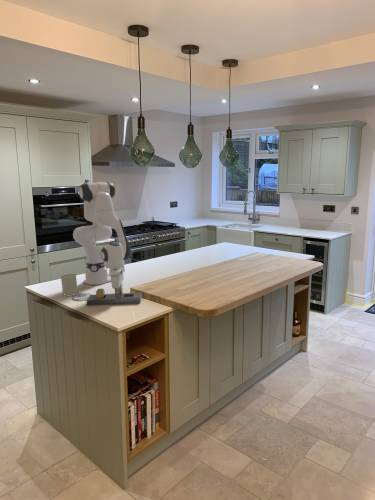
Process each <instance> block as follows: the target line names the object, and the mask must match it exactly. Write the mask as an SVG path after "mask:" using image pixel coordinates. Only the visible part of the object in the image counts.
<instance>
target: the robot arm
mask: <svg viewBox="0 0 375 500" xmlns="http://www.w3.org/2000/svg"><path fill="white" fill-rule="evenodd" d="M78 194H79V198H80V200H82V201H83V217H84V219H85V220H86V221H89V222H91V223H92V224H91V225H85V226H79V227H76V228H75V229H74V230H73V233H72V237H73V240H74V241H75V242H76V243H77V244H79V245H80V246H81V247H82V248H83V249H84V251H85V257H86V269H85V271H84V274H85V275H84V276H85V277H84V278H85V280H83V283H84V284H86V285H93V286H95V285H97V286H98V285H102V284H105V283H110V282H111V287H112V289H114V290H115V289H116V293H117V294H119V293H120V290H119V287H120V285H121V284H122V285H123V281H124V279H125V278H124V273H125V272H126V269H125V261H127V260H129V258H130V257H131V256H132V249H131V247H130V243H129V242H128V239H127V235H126V231H125V228H124V225H123V223H122V221H121V219H120V218H118V217H117V214H116V213H115V209H114V203H113V198H114V197H115V196H116V187H115V185H114V183H113V182H110V181H96V182H90V183H87V182H86V183H83V184H80V185H79V188H78ZM112 229H114V230H115V232H116V235H117V238H118V240H119V241H115V240H114V241H110V242H108V243H107V245H106V246H103V247H102V248H101V247H100V246H96V245H95V243H96V242H101V241H102V242H103V241H106V240H108V239H110V238H111V237H112V236H113V230H112ZM106 263H108V269H109V272H108V269H107V267H106Z"/></svg>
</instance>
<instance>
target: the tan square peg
mask: <svg viewBox="0 0 375 500" xmlns="http://www.w3.org/2000/svg"><path fill="white" fill-rule="evenodd" d="M105 291H106V290H105V288H97V290H96V291H95V295H96V298H97V299H100V298H105V294H106V293H105Z"/></svg>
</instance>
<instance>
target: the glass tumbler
mask: <svg viewBox="0 0 375 500" xmlns="http://www.w3.org/2000/svg"><path fill="white" fill-rule="evenodd" d="M60 279H61V280H60V281H61V288H62V289H61V290H62V295H63V294H65V295H72V296H74V295H73V294H75V295H77V294H79V290H78V281H77V274H76V273H67V274H66V273H65V274H62V275H61V276H60Z"/></svg>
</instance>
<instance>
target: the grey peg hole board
mask: <svg viewBox="0 0 375 500" xmlns="http://www.w3.org/2000/svg"><path fill="white" fill-rule="evenodd" d="M142 298H143V293H142V292H125V293H124V292H123V293H119V294H115V293H105V298H100V299H97V298H96V294H90V295H89V296H88V298H87V299H86V306H87V305H88V306H102V305H103V306H107V305H110V306H111V305H125V304H126V305H127V304H130V305H131V304H141V302H142Z"/></svg>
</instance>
